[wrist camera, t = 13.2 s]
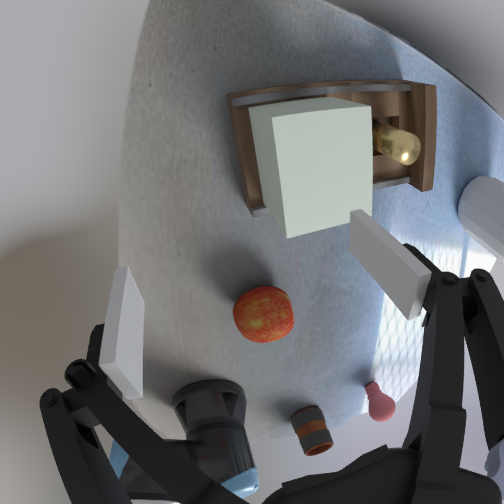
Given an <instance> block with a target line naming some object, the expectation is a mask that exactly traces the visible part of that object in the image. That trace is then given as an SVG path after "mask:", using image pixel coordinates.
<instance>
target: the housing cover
mask: <svg viewBox="0 0 504 504" xmlns="http://www.w3.org/2000/svg"><path fill="white" fill-rule="evenodd" d="M248 109H249V115H250V121H251V127H252V133H253V139H254V146H255V152H256V158H257V164H258V171H259V177H260V183H261V190H262V196H263V203H264V204H265V206H266V207H267V209H268V210H269V212H270V213H271V215H272V216H273V218H274V219H275V221H276V222H277V224H278V226H279V227H280V229H281V230H282V232H283V233H284V235H285V236H286V238H291V237H295V236H299V235H303V234H307V233H310V232H314V231H318V230H322V229H326V228H330V227H334V226H338V225H342V224H345V223H349V222H350V211H354V210H358V209H362V210H363V211H364V212H365V213H367V214H368V215H369V216H370V217H372V187H373V146H372V116H371V106H368V105H364V104H360V103H356V102H352V101H347V100H343V99H338V98H333V97H319V98H310V99H301V100H293V101H285V102H278V103H272V104H265V105H259V106H253V107H248Z"/></svg>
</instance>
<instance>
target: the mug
mask: <svg viewBox="0 0 504 504" xmlns="http://www.w3.org/2000/svg"><path fill="white" fill-rule="evenodd" d="M325 422H326V421H325V418H324V415H323V413H322V411H321V409H319V408H318V407H308V408H304V409H302V410H300V411H298V412H296V413H295V414H294V415H293V416H292V419H291V424H292V426H293V428H294V431H295V433H296V434H297V435H298V438H299V440H300V444H301V446H302V448H303V451H304V454H305V455H307V456H312V455H317V454H320V453H322V452H325V451H327V450H328V449H329V448H331V447H332V446H333V440H332V438H331V435H330V432H329V430H328V429H327V426H326V424H325Z"/></svg>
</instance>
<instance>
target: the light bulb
mask: <svg viewBox="0 0 504 504" xmlns="http://www.w3.org/2000/svg"><path fill="white" fill-rule="evenodd" d="M379 388H380V387H379V386H378V384H377V383H376V382H373V383H371V384H369V385H368V386H366V388H365V390H366V393H367V395H368V399H369V414H370V416H371V418H372V419H374V420H375V421H379V422H383V421H386V420H388V419H390V418H391V417H392V416H393V414H394V412H395V402H394V400H393V399H392V398H391V397H389V396H387V395H386V394H384V393H382V392H381V390H379Z"/></svg>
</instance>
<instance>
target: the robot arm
mask: <svg viewBox="0 0 504 504" xmlns="http://www.w3.org/2000/svg"><path fill="white" fill-rule="evenodd" d="M349 251H350V252H351V253H352V254H353V255H354V256H355V258H356V259H357V260H358V261H359V262H360V263H361V264H362V266H363V267H364V268H365V269H366V270H367V271H368V273H369V274H370V275H371V276H372V277H373V278H374V280H375V281H376V282H377V283H378V284H379V285H380V287H381V288H382V289H383V290H384V291H385V293H386V294H387V295H388V296H389V298H390V299H391V300H392V301H393V302H394V304H395V305H396V306H397V307H398V309H399V310H400V311H401V312H402V314H403V315H404V316H405V317H406V319H407V320H411V319H413V318H415V317H417V316H420V313H421V310H422V307H423V308H424V309H425V310H426V311H427V312H426V315H425V318H424V321H423V324H422V327H424V336H423V346H422V355H421V363H420V370H419V377H418V383H417V389H416V395H415V401H414V406H413V411H412V416H411V421H410V425H409V430H408V433H407V436H406V438H405V440H404V443H403V446H402V448H389V449H388V447H387V445H386V444H385V445H383V446H381V447H379V448H377V449H374V450H372V451H370V452H368V453H365V454H363V455H362V456H360V457H359V458H358V459H356V460H355V461H353V462H352V463H351V464H349V465H348V466H346V467H345V468H343V469H342V470H340V471H338V472H332V473H324V474H315V475H307V476H304V477H301V478H298V479H294V480H291V481H288V482H284V483H282V488H280V489H279V490H277V491H275V492H274V493H272V494H271V495H270V496H269V497H268V498H266V500H265V501H264V502H263V503H262V504H502V500H503V499H504V300H503V298H502V296H501V294H500V292H499V290H498V288H497V286H496V284H495V282H494V280H493V278H492V276H491V275H490V273H488V272H487V271H486V270H483V269H478V268H477V269H474V270H472V272H471V275H470V277H467V278H458V277H457V275H455V274H453V273H451V272H441V271H440V270H439V269H438V268H437V267H436V266H435V265H434V264H433V263H432V262H431V261H430V260H429V259H427V258H426V257H425V256H424V255H423V254H421V252H420V251H419V250H418V249H416V248H415V247H414V246H411V245H409V244H407V243H406V244H401V243H400V242H399V241H398V240H397V239H396V238H394V237H393V236H392V235H391V234H390V233H389V232H388V231H386V230H385V229H384V228H383V227H382V226H381V225H380V224H378V223H377V222H376V221H375V220H374V219H373V218H371V217H370V216H369V215H368V214H367V213H365V212H364V211H363V210H362V209H358V210H354V211H350V239H349ZM144 310H145V302H144V300H143V298H142V296H141V294H140V292H139V289H138V287H137V285H136V283H135V281H134V278H133V276H132V274H131V272H130V269H129V267H128V266H127V267H123V268H119V269H116V271H115V275H114V280H113V284H112V289H111V294H110V299H109V304H108V309H107V315H106V320H105V324H100V325H96V326H95V328H94V329H93V331H92V333H91V336H90V341H89V342H90V343H89V347H88V349H89V350H88V352H87V358H86V360H84V359H78V360H75V361H73V362H72V363H71V364H70V365H69V366H68V367H67V369H66V371H65V380H66V381H67V383H68V384H69V385H70V386H71V387H72V388H71V389H69V390H67V391H65V392H63V393H61V392H60V391H59V390H58V389H56V388H51V389H48V390H47V391H45V392H44V393H43V395H42V396H41V399H40V409H41V414H42V417H43V422H44V425H45V429H46V433H47V436H48V439H49V443H50V446H51V449H52V452H53V456H54V459H55V461H56V464H57V467H58V470H59V473H60V476H61V478H62V481H63V483H64V486H65V488H66V491H67V493H68V495H69V498H70V500H71V503H72V504H249V503H248V502H246V501H245V500H243V499H241V498H244V497H247V496H249V495H251V494H252V493H254V492H255V491H256V490H257V489H258V487H259V480H258V475H257V468H256V467H255V463H254V459H253V456H252V453H251V449H250V445H249V442H248V438H247V435H246V431H245V427H244V422H245V413H246V404H247V401H246V397H245V393H244V390H243V389H242V388H241V387H240V386H239V385H237V384H235V383H232V382H229V381H223V380H207V381H201V382H196V383H193V384H190V385H188V386H186V387H184V388H182V389H181V390H179V391H178V392H177V393H176V395H175V396H174V399H173V403H174V411H175V413H176V415H177V417H178V419H179V421H180V423H181V425H182V427H183V429H184V431H185V433H186V439H187V440H176V439H162V438H161V437H160V436H159V435H158V434H156V433H155V432H154V431H153V430H152V429H151V428H150V427H149V426H148V425H147V424H146V423H145V422H143V421H142V420H141V419H140V418H139V417H138V416H137V415H136V414H135V413H134V412H133V411H132V410H131V409H130V408H129V407H128V406H127V405H126V404H125V403H124V402H123V401H122V394H123V395H124V396H125V398H126V399H127V400H133V399H139V398H143V331H144ZM464 337H465V340H466V344H467V347H468V351H469V355H470V359H471V363H472V367H473V371H474V375H475V380H476V385H477V390H478V395H479V400H480V406H481V412H482V418H483V425H484V431H485V437H486V442H487V446H488V449H489V453H488V456H487V461H486V462H485V470H486V471H487V472H488V473H487V476H484V475H481V474H478V473H475V472H472V471H468V470H466V469H463V468H460V467H459V466H460V460H461V454H462V448H463V441H464V434H465V426H466V410H465V409H463V408H462V398H463V397H462V396H463V382H464V381H463V380H464ZM99 424H102V426H103V427H104V428H105V429H106V430H107V432H108V433H109V434H110V435H111V436H112V437H113V438H114V440H113V443H112V447H111V453H110V458H109V460H108V458H107V456H106V454H105V452H104V449H103V447H102V445H101V443H100V441H99V439H98V436H97V434H96V432H95V429H94V426H97V425H99Z"/></svg>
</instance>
